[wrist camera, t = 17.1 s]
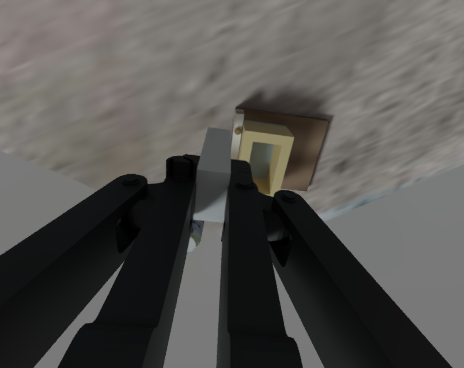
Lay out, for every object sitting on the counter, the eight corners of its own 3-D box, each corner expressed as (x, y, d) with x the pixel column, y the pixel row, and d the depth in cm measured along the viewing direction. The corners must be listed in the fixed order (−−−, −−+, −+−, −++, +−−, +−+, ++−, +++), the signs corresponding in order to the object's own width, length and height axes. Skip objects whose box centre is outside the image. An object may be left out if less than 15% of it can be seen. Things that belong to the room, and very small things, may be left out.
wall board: (235, 107, 40) (236, 114, 36) (326, 119, 41) (337, 127, 37) (225, 179, 46) (225, 191, 42) (304, 188, 47) (312, 201, 43)
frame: (242, 119, 39) (244, 130, 34) (285, 125, 40) (294, 137, 35) (233, 180, 45) (233, 198, 39) (271, 184, 45) (276, 203, 40)
